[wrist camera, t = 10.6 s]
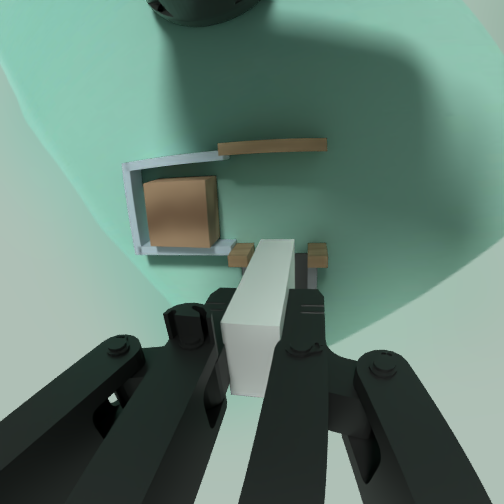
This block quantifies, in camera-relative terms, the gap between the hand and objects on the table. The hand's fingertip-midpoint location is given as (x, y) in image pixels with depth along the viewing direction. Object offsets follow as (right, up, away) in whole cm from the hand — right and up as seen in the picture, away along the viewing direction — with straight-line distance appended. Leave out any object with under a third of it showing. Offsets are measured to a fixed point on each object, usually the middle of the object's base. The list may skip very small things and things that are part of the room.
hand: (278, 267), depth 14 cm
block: (-8, +6, +20) cm, 23 cm away
